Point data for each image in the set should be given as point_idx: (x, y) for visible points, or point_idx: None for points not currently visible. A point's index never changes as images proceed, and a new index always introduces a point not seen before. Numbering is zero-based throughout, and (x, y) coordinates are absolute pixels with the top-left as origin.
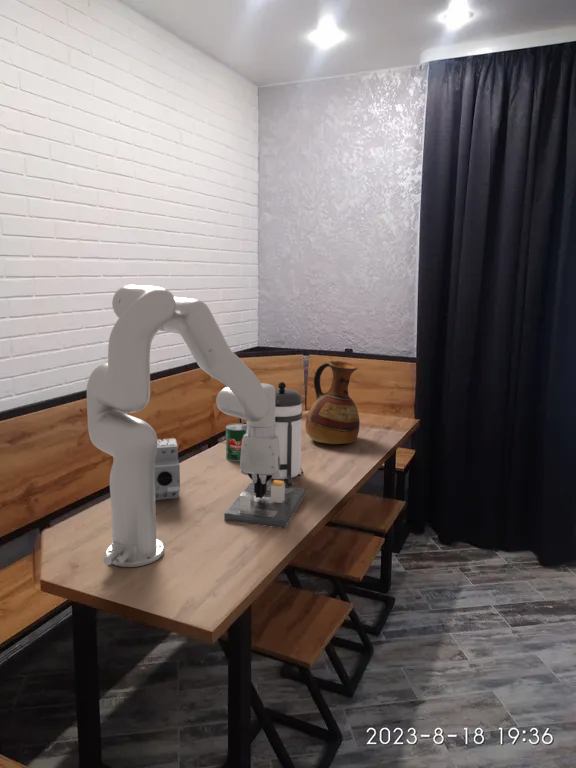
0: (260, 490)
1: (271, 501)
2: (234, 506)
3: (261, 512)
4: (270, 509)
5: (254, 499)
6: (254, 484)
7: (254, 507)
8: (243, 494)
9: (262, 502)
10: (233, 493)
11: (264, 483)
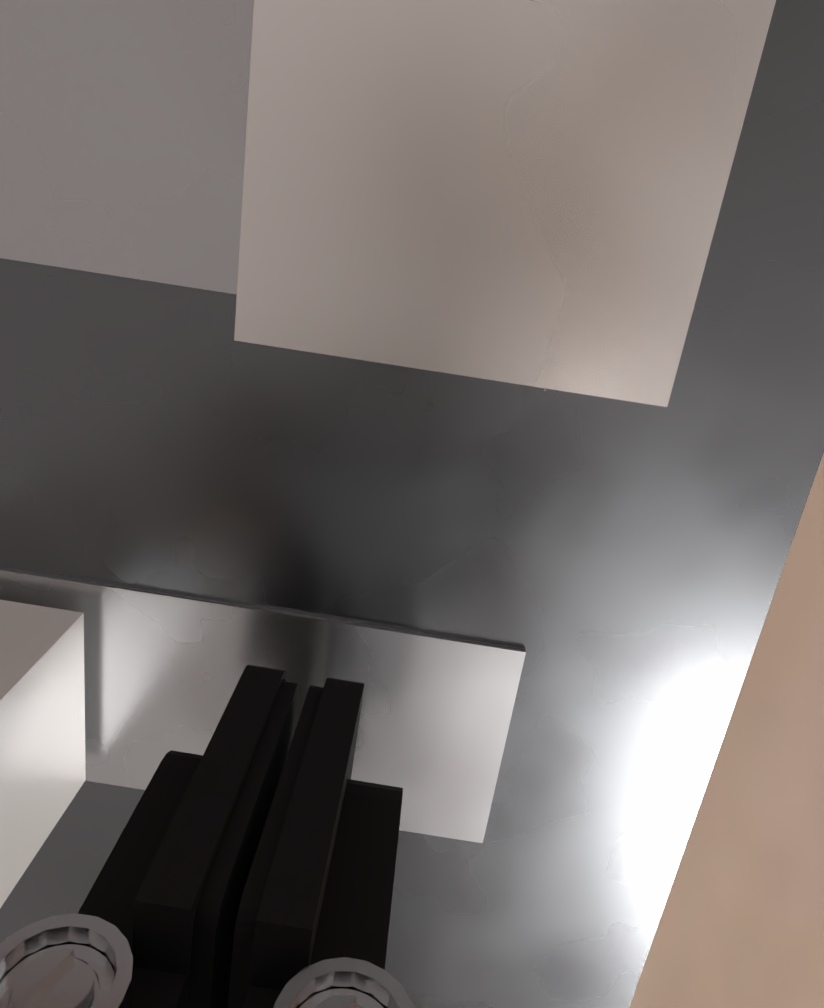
0: (220, 769)
1: (67, 612)
2: (765, 359)
3: (135, 108)
4: (11, 314)
5: (410, 700)
6: (380, 949)
7: (344, 368)
8: (621, 47)
9: (245, 604)
10: (775, 990)
11: (30, 936)
